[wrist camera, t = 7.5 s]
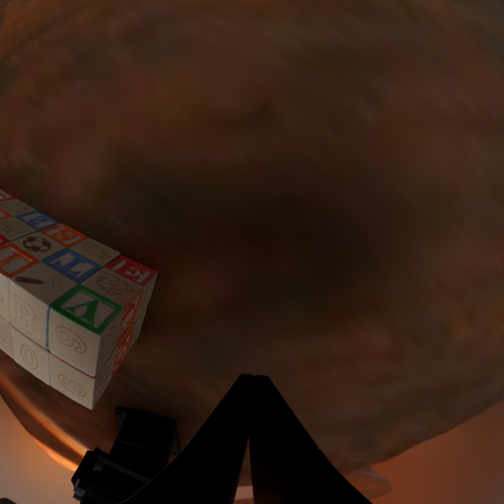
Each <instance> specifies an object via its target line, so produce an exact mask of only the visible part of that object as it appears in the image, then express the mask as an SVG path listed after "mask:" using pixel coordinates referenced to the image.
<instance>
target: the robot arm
mask: <svg viewBox="0 0 504 504" xmlns="http://www.w3.org/2000/svg"><path fill="white" fill-rule="evenodd" d="M115 415H116V418H117V421H118V424H119V428H120V431H119V433H118V435H117V437H116V439H115V442H114V444H113V446H112V448H111V451H110V453H109V454H107V453H105V452H103V451H101V449H99V448H97V447H96V449H95V450H94V451H89V450H87V452H86V454H85V456H84V458H83V460H82V462H81V463H80V465H79V467H78V468H77V470H76V472H75V473H74V475H73V477H72V479H71V482H72V484H73V486H74V491H75V493H74V496H73V498H75V499H76V500H78V501H80V504H233V503H234V499H235V495H236V491H237V487H238V482H239V478H240V474H241V470H242V465H243V461H244V456H245V452H246V447H247V442H248V437H249V451H250V463H251V475H252V486H253V497H254V504H372V503H371V502H370V501H369V500H368V499H367V498H366V497H364V496H363V495H362V494H361V493H360V492H359V491H358V490H357V489H356V488H355V487H354V486H353V485H351V484H350V483H349V482H348V481H347V480H346V479H345V478H344V477H343V476H342V475H341V474H340V473H339V472H338V471H337V469H336V468H335V467H334V466H333V465H332V464H331V462H330V461H329V460H328V459H327V457H326V456H325V455H324V454H323V452H322V451H321V449H318V448H319V447H318V446H317V444H316V443H315V442H314V440H313V439H312V438H311V436H310V435H309V433H308V432H307V431H306V429H305V428H304V427H303V425H302V424H301V422H300V421H299V420H298V418H297V417H296V415H295V414H294V413H293V411H292V410H291V408H290V407H289V406H288V404H287V403H286V401H285V400H284V398H283V397H282V396H281V394H280V393H279V391H278V390H277V388H276V387H275V385H274V384H273V382H272V381H271V380H270V378H269V377H268V376H263V375H256V376H255V377H254V375H251V374H241V375H240V376H239V377H238V379H237V380H236V381H235V383H234V384H233V385H232V387H231V388H230V390H229V391H228V392H227V394H226V395H225V396H224V398H223V399H222V400H221V402H220V403H219V404H218V406H217V407H216V408H215V410H214V411H213V412H212V414H211V415H210V416H209V418H208V419H207V420H206V421H205V423H204V424H203V425H202V427H201V428H200V429H199V430H198V432H197V433H196V434H195V435H194V437H193V438H192V440H191V441H190V442H189V443H188V444H187V445H186V447H185V448H184V449H183V450H182V451H181V452H180V454H179V446H178V437H177V428H176V422H175V421H174V420H171V419H166V418H161V417H156V416H152V415H147V414H143V413H139V412H135V411H131V410H127V409H123V408H119V407H117V408H116V409H115ZM170 455H175V456H177V455H178V456H177V457H176V458H175V459H174V460H173V461H172V462H171V463H170V464H169V465H168V466H167V464H168V460H169V456H170ZM93 469H94V471H93ZM0 504H16V503H15V502H13V501H11V500H9V499H7V498H1V499H0Z"/></svg>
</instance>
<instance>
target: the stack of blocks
mask: <svg viewBox="0 0 504 504" xmlns="http://www.w3.org/2000/svg"><path fill="white" fill-rule="evenodd" d="M157 274H158V271H156V270H154V269H151V268H149V267H147V266H145V265H143V264H140V263H138V262H136V261H134V260H132V259H129V258H127V257H125V256H122V255H121V253H120V252H118V251H116V250H114V249H112V248H110V247H108V246H106V245H104V244H102V243H100V242H98V241H96V240H93V239H91V238H89V237H88V236H86V235H84V234H82V233H80V232H78V231H77V230H75V229H73V228H71V227H69V226H67V225H65V224H63V223H60V222H58V221H56V220H54V219H52V218H51V217H49V216H47V215H45V214H43V213H42V212H40V211H37V210H35V209H34V208H32V207H30V206H29V205H27V204H25V203H23V202H22V201H20V200H18V199H16V197H14V196H13V195H11V194H9V193H8V192H6V191H4V190H3V189H1V188H0V349H1V350H3V351H4V352H5V353H6V354H8V355H9V356H10V357H12V358H13V359H14V360H15V361H16V362H17V363H18V364H20V365H21V366H22V367H24V368H25V369H26V370H28V371H29V372H31V373H32V374H33V375H35V376H36V377H38V378H39V379H40V380H42V381H43V382H45V383H46V384H48V385H51V386H52V387H53V388H55V389H56V390H58V391H60V392H61V393H63V394H64V395H66V396H68V397H69V398H71V399H72V400H74V401H76V402H78V403H80V404H81V405H83V406H85V407H87V408H88V409H91V410H92V409H93V408H94V406H95V404H96V403H97V401H98V400H99V398H100V396H101V395H102V393H103V392H104V390H105V388H106V387H107V385H108V384H109V382H110V380H112V378H113V377H114V375H115V374H116V372H117V370H118V369H119V367H120V366H121V364H122V362H123V361H124V359H125V357H126V356H127V354H128V352H129V350H130V349H131V347H132V345H133V344H134V342H135V341H136V339H137V337H138V336H139V334H140V330H141V326H142V323H143V320H144V316H145V313H146V310H147V306H148V304H149V301H150V298H151V295H152V292H153V288H154V285H155V282H156V278H157Z"/></svg>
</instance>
